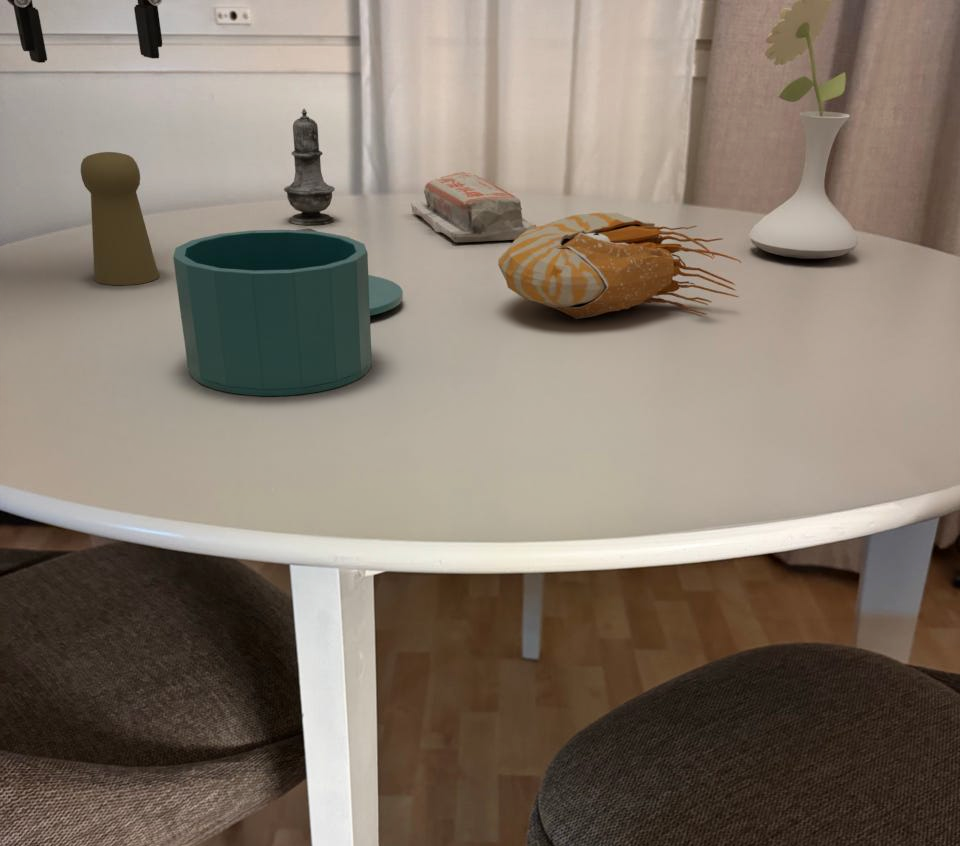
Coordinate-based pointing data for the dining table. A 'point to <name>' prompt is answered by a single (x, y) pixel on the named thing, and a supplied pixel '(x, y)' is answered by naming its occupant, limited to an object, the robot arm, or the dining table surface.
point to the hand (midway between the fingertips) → (96, 59)
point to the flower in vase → (807, 149)
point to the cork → (117, 220)
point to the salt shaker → (308, 176)
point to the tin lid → (381, 293)
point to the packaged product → (471, 209)
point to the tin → (274, 311)
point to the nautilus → (599, 264)
